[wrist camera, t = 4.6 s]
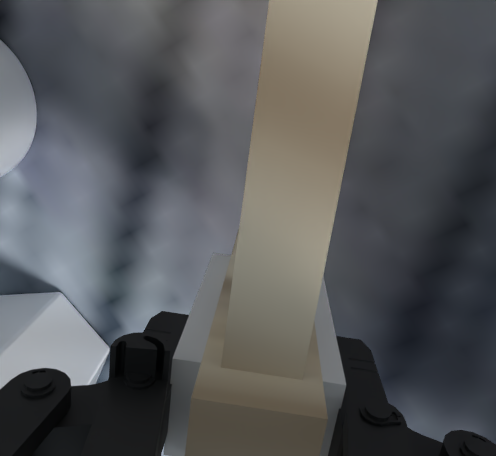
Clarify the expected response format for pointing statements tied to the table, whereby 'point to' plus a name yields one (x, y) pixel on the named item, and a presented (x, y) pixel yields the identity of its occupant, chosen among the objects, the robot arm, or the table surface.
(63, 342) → the jar
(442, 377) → the table surface
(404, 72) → the table surface
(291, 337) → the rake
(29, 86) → the candle holder
